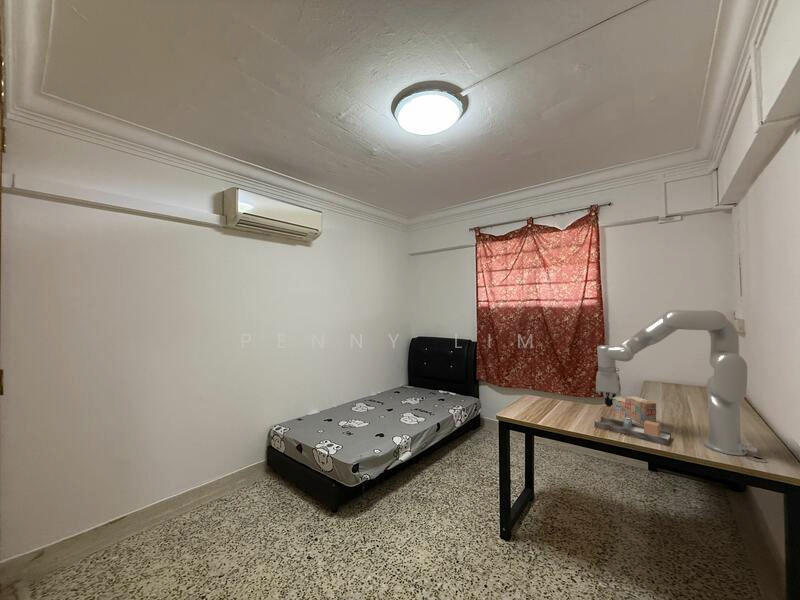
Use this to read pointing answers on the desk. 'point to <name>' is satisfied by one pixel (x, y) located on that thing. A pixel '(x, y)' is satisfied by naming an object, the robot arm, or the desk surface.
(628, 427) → the white sliding panel
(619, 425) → the rail board
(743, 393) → the robot arm
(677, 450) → the desk surface
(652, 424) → the terracotta block
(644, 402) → the stack of blocks
